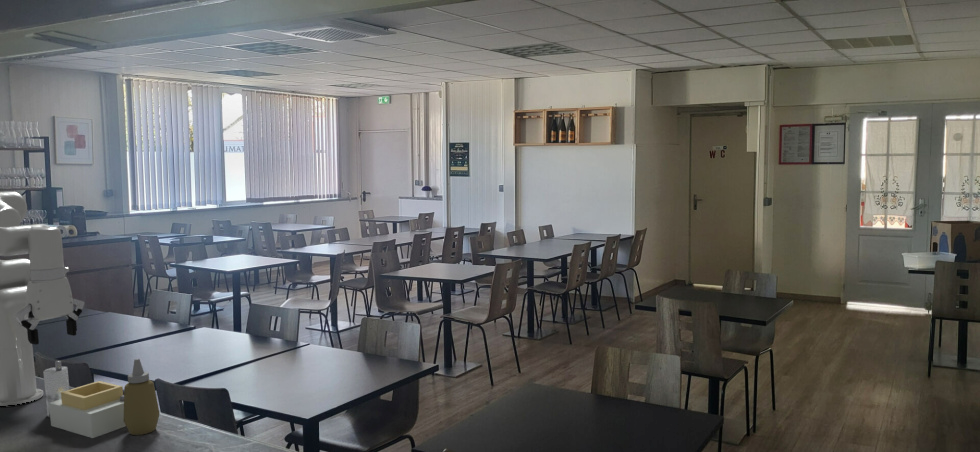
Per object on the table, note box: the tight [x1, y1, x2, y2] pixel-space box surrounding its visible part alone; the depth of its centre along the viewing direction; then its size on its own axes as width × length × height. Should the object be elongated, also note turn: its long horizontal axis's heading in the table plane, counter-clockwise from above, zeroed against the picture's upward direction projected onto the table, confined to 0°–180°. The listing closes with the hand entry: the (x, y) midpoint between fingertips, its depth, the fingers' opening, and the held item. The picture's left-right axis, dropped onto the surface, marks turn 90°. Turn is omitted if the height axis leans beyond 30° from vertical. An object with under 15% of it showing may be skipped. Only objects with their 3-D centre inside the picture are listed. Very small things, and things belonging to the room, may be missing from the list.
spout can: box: [42, 360, 70, 418], centre depth 194 cm, size 6×6×14 cm
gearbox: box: [49, 380, 126, 439], centre depth 187 cm, size 18×12×9 cm, turn 59°
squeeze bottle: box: [123, 358, 161, 436], centre depth 180 cm, size 8×8×18 cm
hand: (53, 339), depth 193 cm, fingers open, 9 cm apart
